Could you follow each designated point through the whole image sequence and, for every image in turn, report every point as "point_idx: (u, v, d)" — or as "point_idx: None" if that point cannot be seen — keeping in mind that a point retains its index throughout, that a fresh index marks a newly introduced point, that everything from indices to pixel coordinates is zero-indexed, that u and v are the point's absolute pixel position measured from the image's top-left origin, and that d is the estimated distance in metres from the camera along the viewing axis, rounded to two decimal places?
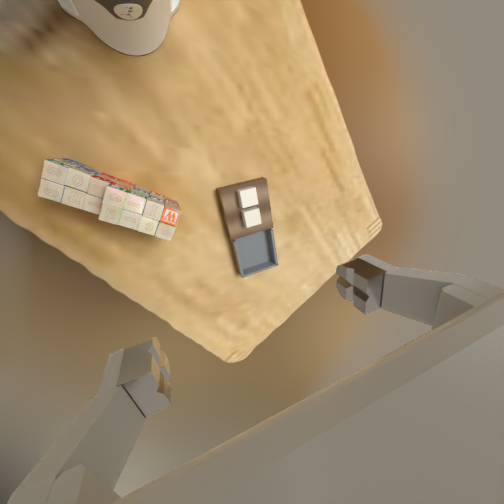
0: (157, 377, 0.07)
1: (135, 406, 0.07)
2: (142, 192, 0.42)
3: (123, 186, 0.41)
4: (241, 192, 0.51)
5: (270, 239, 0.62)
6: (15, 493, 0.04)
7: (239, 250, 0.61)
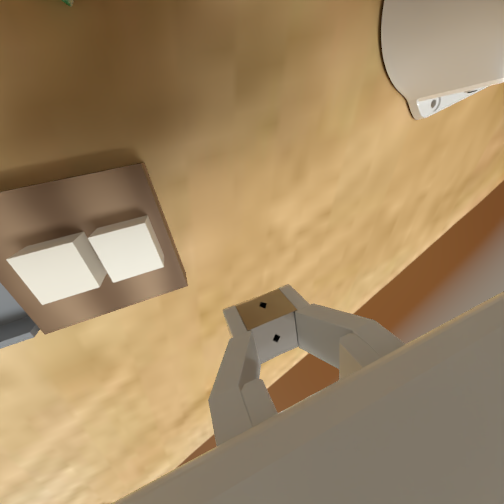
0: None
1: (257, 351, 0.08)
2: None
3: None
4: (142, 228, 0.17)
5: None
6: (211, 398, 0.05)
7: None
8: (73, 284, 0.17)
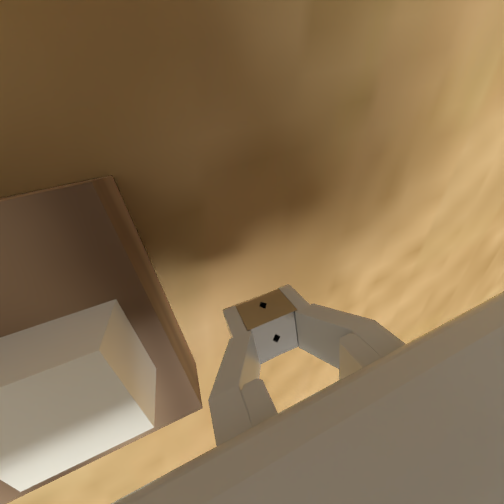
0: None
1: (257, 351, 0.08)
2: None
3: None
4: (92, 364, 0.06)
5: None
6: (211, 399, 0.05)
7: None
8: None
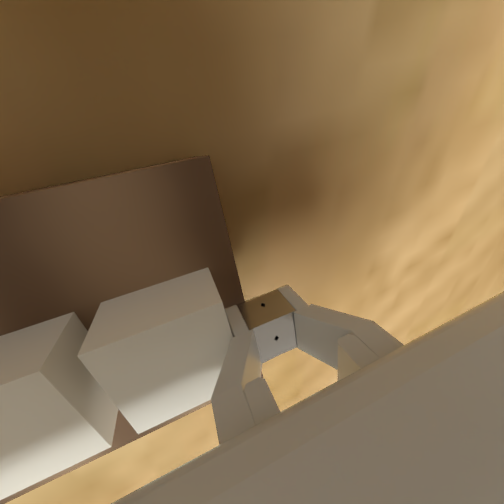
0: None
1: (258, 350, 0.08)
2: None
3: None
4: (214, 315, 0.07)
5: None
6: (213, 397, 0.05)
7: None
8: (46, 458, 0.07)
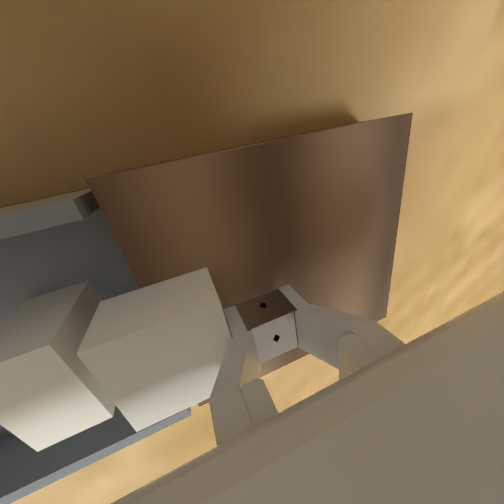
0: None
1: (257, 351, 0.08)
2: None
3: None
4: (212, 314, 0.07)
5: None
6: (211, 398, 0.05)
7: None
8: None
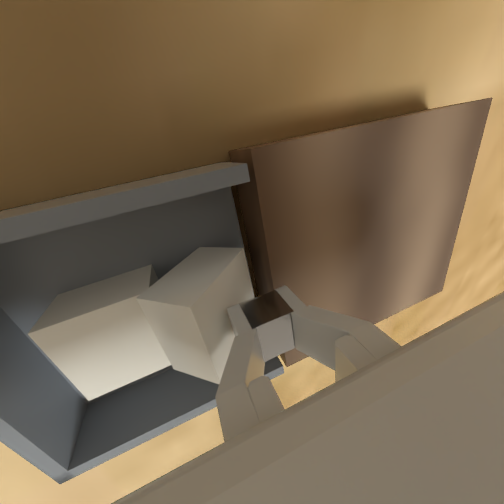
0: None
1: (261, 349, 0.08)
2: None
3: None
4: (242, 259, 0.10)
5: None
6: (218, 395, 0.05)
7: (141, 221, 0.10)
8: None
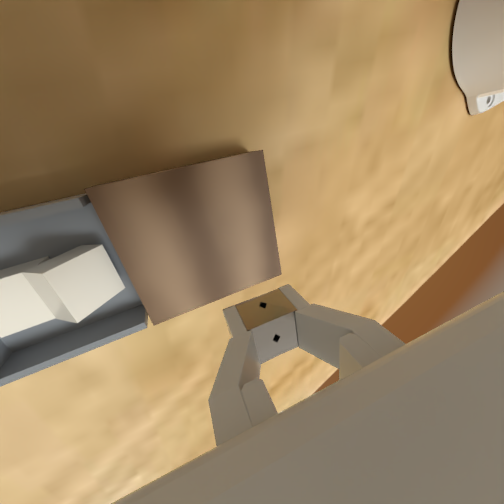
0: None
1: (257, 351, 0.08)
2: None
3: None
4: (100, 251, 0.16)
5: (104, 327, 0.19)
6: (211, 398, 0.05)
7: (36, 229, 0.16)
8: None
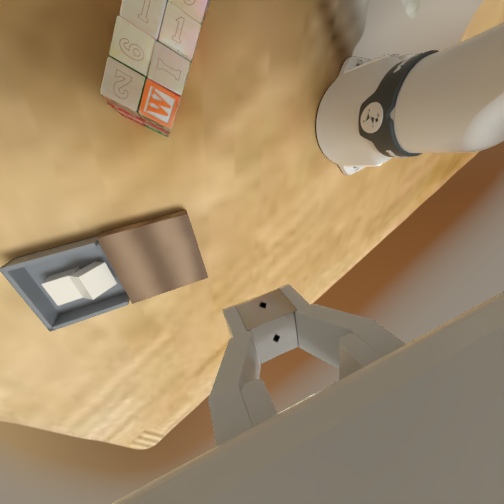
0: None
1: (257, 351, 0.08)
2: None
3: None
4: (104, 265, 0.33)
5: (106, 303, 0.36)
6: (211, 398, 0.05)
7: (73, 254, 0.33)
8: None
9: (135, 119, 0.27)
